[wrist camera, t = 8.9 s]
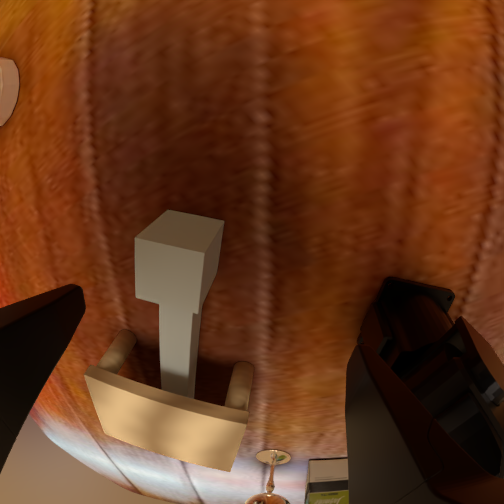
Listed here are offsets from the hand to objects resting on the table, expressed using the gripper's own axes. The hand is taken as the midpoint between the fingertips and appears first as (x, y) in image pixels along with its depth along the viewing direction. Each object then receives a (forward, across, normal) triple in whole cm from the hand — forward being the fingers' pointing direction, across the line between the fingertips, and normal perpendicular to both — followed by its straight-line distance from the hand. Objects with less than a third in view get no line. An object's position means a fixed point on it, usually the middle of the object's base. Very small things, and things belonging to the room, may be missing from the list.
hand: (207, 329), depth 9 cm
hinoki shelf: (+12, +5, +18) cm, 22 cm away
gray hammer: (+12, +4, +11) cm, 17 cm away
